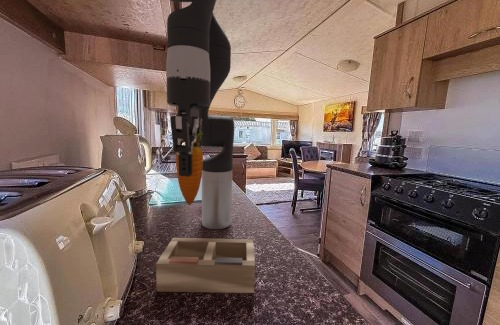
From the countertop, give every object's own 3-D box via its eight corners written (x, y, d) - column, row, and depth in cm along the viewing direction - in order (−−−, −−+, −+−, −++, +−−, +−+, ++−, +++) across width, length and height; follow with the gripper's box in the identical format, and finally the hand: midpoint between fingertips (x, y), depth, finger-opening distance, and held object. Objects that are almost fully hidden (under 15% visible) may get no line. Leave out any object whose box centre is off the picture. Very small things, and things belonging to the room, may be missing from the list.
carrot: (192, 198, 47) (192, 126, 45) (207, 204, 44) (208, 127, 42) (171, 204, 43) (169, 125, 41) (186, 211, 40) (185, 126, 38)
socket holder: (173, 260, 50) (172, 235, 50) (252, 262, 51) (253, 237, 50) (156, 291, 41) (155, 261, 40) (253, 292, 41) (255, 262, 41)
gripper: (179, 85, 47) (180, 165, 50) (151, 67, 33) (154, 181, 36) (215, 87, 47) (214, 166, 50) (202, 70, 33) (202, 182, 36)
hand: (189, 172), depth 43 cm, fingers closed on carrot, 5 cm apart
